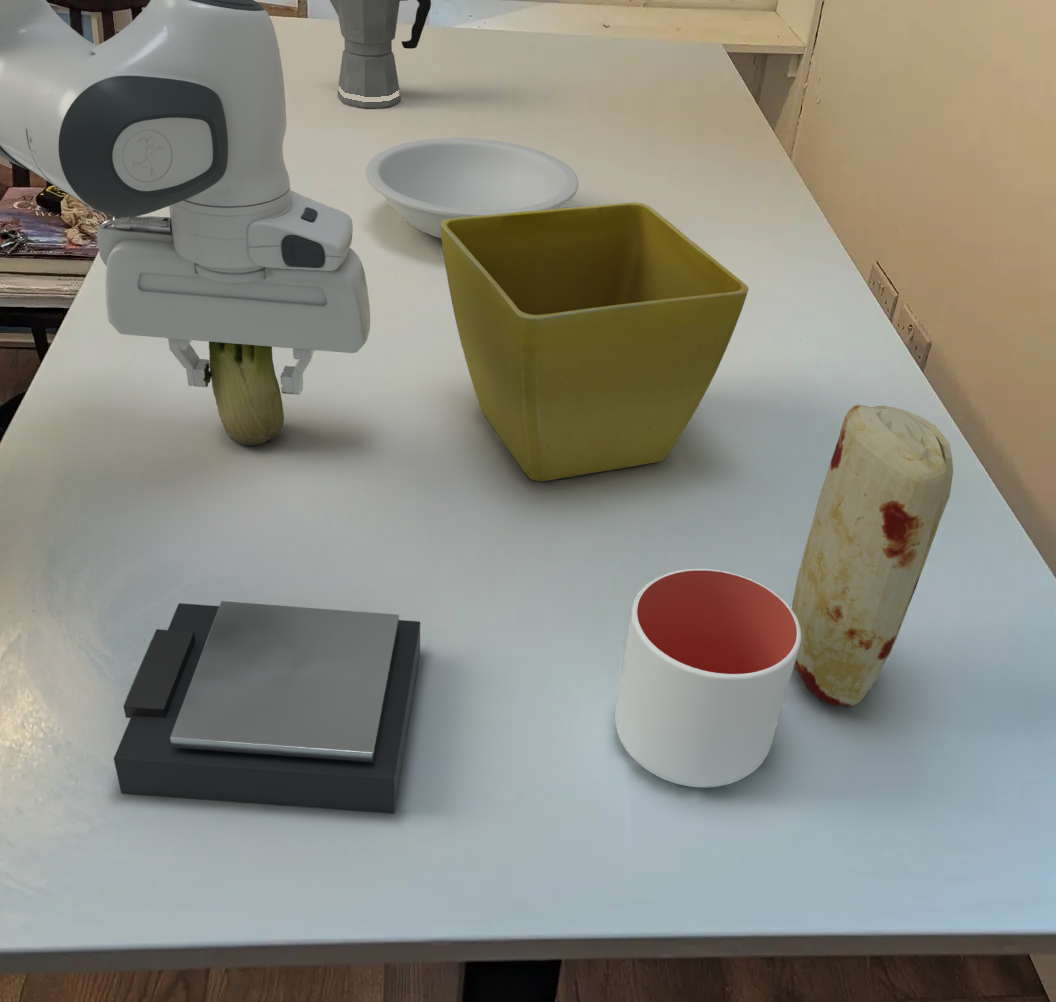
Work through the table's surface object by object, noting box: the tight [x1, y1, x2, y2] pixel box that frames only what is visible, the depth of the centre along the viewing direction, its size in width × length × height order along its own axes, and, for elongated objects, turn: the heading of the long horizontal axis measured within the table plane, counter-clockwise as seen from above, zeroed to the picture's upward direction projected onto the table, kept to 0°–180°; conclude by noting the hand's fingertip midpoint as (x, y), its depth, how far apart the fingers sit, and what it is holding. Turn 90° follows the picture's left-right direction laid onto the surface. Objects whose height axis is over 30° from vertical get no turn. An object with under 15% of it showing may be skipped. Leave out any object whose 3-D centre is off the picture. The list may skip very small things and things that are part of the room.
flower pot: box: [440, 202, 749, 482], centre depth 98 cm, size 19×19×17 cm
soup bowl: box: [365, 137, 579, 240], centre depth 135 cm, size 24×24×7 cm
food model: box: [791, 403, 954, 707], centre depth 75 cm, size 10×7×20 cm
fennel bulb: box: [208, 341, 285, 447], centre depth 96 cm, size 6×5×12 cm
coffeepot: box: [329, 0, 432, 110], centre depth 167 cm, size 15×9×18 cm, turn 88°
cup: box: [614, 568, 801, 788], centre depth 73 cm, size 10×10×10 cm
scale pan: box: [170, 600, 400, 762], centre depth 72 cm, size 12×12×1 cm
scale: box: [113, 602, 421, 814], centre depth 73 cm, size 16×14×4 cm
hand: (246, 387), depth 97 cm, fingers open, 6 cm apart
